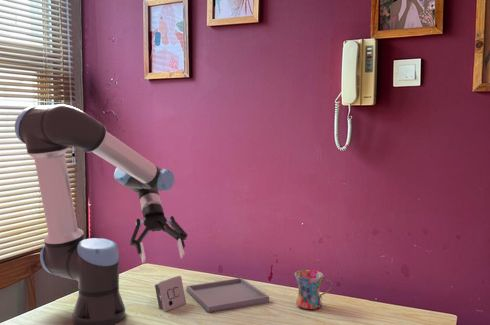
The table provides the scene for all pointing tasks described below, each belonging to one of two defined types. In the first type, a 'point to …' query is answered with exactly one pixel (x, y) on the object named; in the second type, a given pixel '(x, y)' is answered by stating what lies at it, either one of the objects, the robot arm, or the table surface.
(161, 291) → the electrical switch
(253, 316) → the table surface
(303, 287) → the mug
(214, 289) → the grey square tray
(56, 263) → the robot arm
